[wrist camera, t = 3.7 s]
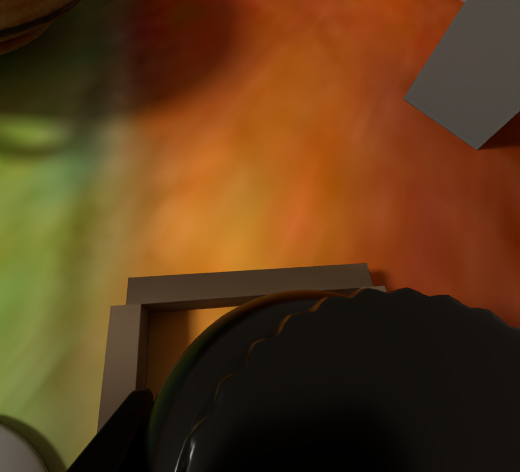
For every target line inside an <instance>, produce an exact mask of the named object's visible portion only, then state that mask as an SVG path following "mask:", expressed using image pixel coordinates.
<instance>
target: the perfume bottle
mask: <svg viewBox="0 0 520 472" xmlns="http://www.w3.org/2000/svg"><path fill="white" fill-rule="evenodd" d="M403 99H404V100H405V101H407V102H408V103H410V104H411V105H413V106H414V107H415V108H417V109H418V110H420V111H421V112H423V113H424V114H426V115H427V116H428V117H430V118H431V119H433V120H434V121H436V122H437V123H439V124H440V125H441V126H443V127H444V128H446V129H447V130H449V131H450V132H451V133H453V134H454V135H456V136H457V137H459V138H460V139H462V140H463V141H464V142H466V143H467V144H469V145H470V146H472V147H473V148H474V149H476V150H477V149H478V148H480V147H481V146H482V145H483V144H484V143H485V142H486V141H487V140H488V139H489V138H491V137H492V136H493V135H494V134H495V133H496V132H497V131H498V130H499V129H500V128H502V127H503V126H504V125H505V124H506V123H507V122H508V121H509V120H510V119H511V118H513V117H514V116H515V115H516V114H517V113H518V112H519V111H520V0H466V1H465V3H464V4H463V6H462V7H461V9H460V11H459V12H458V14H457V15H456V17H455V18H454V20H453V21H452V23H451V25H450V26H449V28H448V29H447V31H446V32H445V34H444V35H443V37H442V39H441V40H440V42H439V43H438V45H437V46H436V48H435V50H434V51H433V53H432V54H431V56H430V57H429V59H428V60H427V62H426V64H425V65H424V67H423V68H422V70H421V71H420V73H419V74H418V76H417V78H416V79H415V81H414V82H413V84H412V85H411V87H410V88H409V90H408V92H407V93H406V95H405V96H404V98H403Z"/></svg>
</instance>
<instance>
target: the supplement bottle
mask: <svg viewBox="0 0 520 472" xmlns="http://www.w3.org/2000/svg"><path fill="white" fill-rule="evenodd" d="M134 472H520V329H519V328H515V327H511V326H509V325H508V324H506V323H505V322H504V321H503V320H502V319H500V318H499V317H498V316H497V315H495V314H494V313H493V312H491V311H490V310H487V309H481V308H469V307H467V306H465V305H464V304H462V303H461V302H459V301H458V300H456V299H455V298H453V297H451V296H449V295H435V296H430V297H429V296H426V295H424V294H422V293H420V292H418V291H416V290H413V289H410V288H401V289H397V290H394V291H390V292H388V293H386V292H383V291H380V290H377V289H372V288H363V289H360V290H358V291H356V292H355V293H353V294H351V295H350V296H346V295H343V294H338V293H334V292H328V291H320V290H292V291H285V292H279V293H273V294H270V295H266V296H263V297H259V298H257V299H254V300H252V301H249V302H247V303H245V304H243V305H241V306H239V307H237V308H235V309H233V310H231V311H230V312H228V313H227V314H225V315H223V316H222V317H220V318H219V319H218V320H217V321H215V322H214V323H213V324H211V325H210V326H209V327H208V328H207V329H206V330H204V331H203V332H202V333H201V334H200V335H199V336H198V337H197V338H196V339H195V340H194V341H193V342H192V344H191V345H190V346H189V347H188V348H187V349H186V350H185V351H184V353H183V354H182V356H181V357H180V358H179V360H178V361H177V362H176V364H175V365H174V366H173V368H172V370H171V371H170V373H169V374H168V376H167V378H166V379H165V381H164V383H163V385H162V387H161V389H160V391H159V393H158V395H157V397H156V399H155V401H154V403H153V406H152V408H151V411H150V413H149V415H148V418H147V421H146V424H145V427H144V430H143V433H142V437H141V440H140V444H139V448H138V453H137V457H136V461H135V468H134Z"/></svg>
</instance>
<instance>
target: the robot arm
mask: <svg viewBox="0 0 520 472" xmlns="http://www.w3.org/2000/svg"><path fill="white" fill-rule="evenodd" d="M153 403H154V401H153V394H152V390H151V389H149V388H146V389H138V390H133V391H132V392H131V393H130V394H129V395H128V396H127V398H126V399H125V400H124V401H123V403H122V404H121V405H120V406H119V407H118V409H117V410H116V411H115V412H114V413H113V415H112V416H111V417H110V418H109V420H108V421H107V422H106V423H105V424H104V426H103V427H102V428H101V429H100V431H99V432H98V433H97V434H96V435H95V437H94V438H93V439H92V440H91V442H90V443H89V444H88V445H87V446H86V448H85V449H84V450H83V451H82V453H81V454H80V455H79V456H78V457H77V459H76V460H75V461H74V462H73V464H72V465H71V466H70V467H69V468H68V470H67V471H66V472H134V468H135V461H136V457H137V453H138V448H139V444H140V440H141V437H142V433H143V430H144V427H145V424H146V421H147V418H148V415H149V413H150V411H151V408H152V406H153Z"/></svg>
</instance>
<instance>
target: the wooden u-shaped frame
mask: <svg viewBox="0 0 520 472" xmlns="http://www.w3.org/2000/svg"><path fill="white" fill-rule="evenodd" d="M363 288H372V289H377V290H380V291H383V292H386V288H385V286H375V287H373V284H372V281H371V277H370V274H369V270H368V266H367V263H361V264H345V265H329V266H313V267H296V268H280V269H264V270H248V271H231V272H215V273H199V274H183V275H166V276H150V277H134V278H128V288H127V300H126V305H121V306H111V310H110V319H109V328H108V337H107V346H106V355H105V365H104V374H103V383H102V392H101V401H100V410H99V419H98V429H97V433H98V432H99V431H100V429H101V428H102V427H103V426H104V424H105V423H106V422H107V421H108V420H109V418H110V417H111V416H112V415H113V413H114V412H115V411H116V410H117V409H118V407H119V406H120V405H121V404H122V403H123V401H124V400H125V399H126V398H127V396H128V395H129V394H130V393H131V392H132V391H133V390H138V389H146V378H147V359H148V339H149V320H150V313H156V312H168V311H181V310H193V309H206V308H218V307H231V306H241V305H243V304H245V303H247V302H249V301H252V300H254V299H257V298H259V297H263V296H266V295H270V294H273V293H279V292H285V291H292V290H320V291H328V292H334V293H338V294H343V295H346V296H350V295H351V294H353V293H355V292H356V291H358V290H360V289H363ZM386 293H387V292H386Z"/></svg>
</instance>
